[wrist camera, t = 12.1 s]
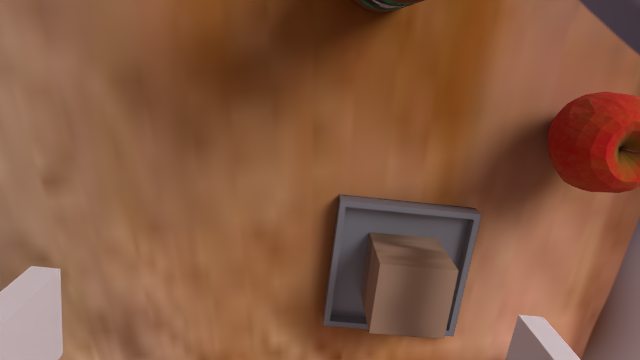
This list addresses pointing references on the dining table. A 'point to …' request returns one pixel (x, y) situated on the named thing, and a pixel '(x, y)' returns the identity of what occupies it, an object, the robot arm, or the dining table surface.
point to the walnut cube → (407, 285)
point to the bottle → (385, 4)
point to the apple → (598, 142)
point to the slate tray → (400, 219)
